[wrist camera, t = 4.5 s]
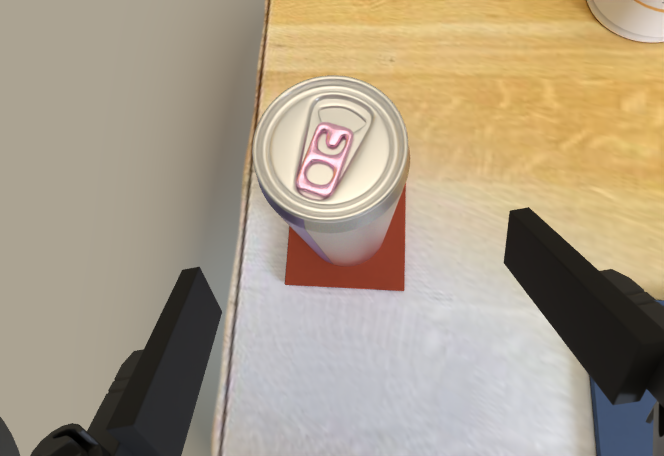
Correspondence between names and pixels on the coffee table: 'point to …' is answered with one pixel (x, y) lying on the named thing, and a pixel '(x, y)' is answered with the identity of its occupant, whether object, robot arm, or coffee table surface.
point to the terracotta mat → (370, 274)
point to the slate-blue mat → (622, 424)
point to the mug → (631, 18)
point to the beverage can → (333, 164)
